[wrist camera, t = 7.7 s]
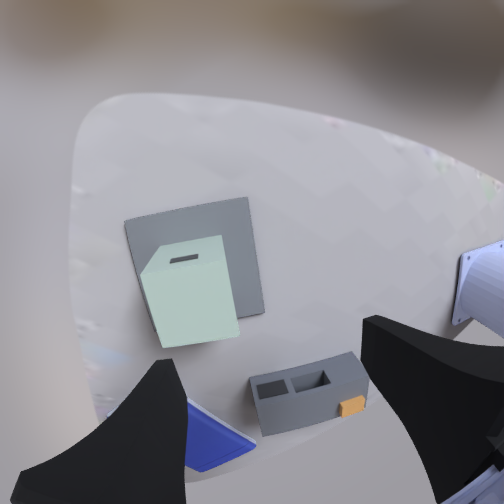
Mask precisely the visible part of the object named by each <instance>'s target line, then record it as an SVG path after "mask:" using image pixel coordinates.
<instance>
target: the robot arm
mask: <svg viewBox="0 0 504 504" xmlns="http://www.w3.org/2000/svg"><path fill="white" fill-rule="evenodd" d="M471 317H472V318H474V319H475V320H477V321H478V322H480V323H481V324H483V325H485V326H486V327H488V328H489V329H491V330H492V331H494V332H495V333H496V334H498V335H500V336H501V337H502V338H504V240H501V241H499V242H496V243H493V244H490V245H487V246H484V247H481V248H478V249H476V250H473V251H470V252H466V253H464V254H462V256H461V261H460V271H459V280H458V287H457V294H456V301H455V307H454V313H453V318H452V324H453V325H454V326H455V325H457V324H459V323H461V322H463V321H465V320H467V319H469V318H471ZM361 362H362V364H363V366H364V368H365V370H366V372H367V374H368V375H369V377H370V379H371V380H372V382H373V383H374V385H375V386H376V387H377V389H378V390H379V391H380V393H381V394H382V395H383V397H384V398H385V399H386V401H387V402H388V403H389V405H390V406H391V407H392V409H393V410H394V411H395V413H396V414H397V415H398V417H399V418H400V420H401V421H402V423H403V425H404V426H405V428H406V430H407V432H408V434H409V436H410V437H411V439H412V441H413V443H414V445H415V447H416V449H417V451H418V454H419V456H420V458H421V460H422V463H423V465H424V467H425V470H426V472H427V475H428V478H429V480H430V483H431V486H432V489H433V493H434V496H435V500H436V503H437V504H504V347H503V346H502V347H501V346H485V345H475V344H469V343H463V342H458V341H454V340H450V339H446V338H442V337H439V336H435V335H432V334H429V333H426V332H423V331H420V330H418V329H415V328H412V327H409V326H407V325H404V324H401V323H399V322H396V321H393V320H391V319H388V318H385V317H382V316H379V315H374V316H371V317H368V318H364V319H363V328H362V346H361ZM187 430H188V402H187V396H186V394H185V391H184V389H183V386H182V384H181V381H180V378H179V376H178V373H177V371H176V368H175V365H174V363H173V360H172V359H164V360H156V361H155V363H154V364H153V365H152V366H151V368H150V369H149V370H148V371H147V373H146V374H145V375H144V377H143V378H142V379H141V381H140V382H139V383H138V384H137V385H136V387H135V388H134V389H133V390H132V392H131V393H130V394H129V395H128V397H127V398H126V399H125V400H124V401H123V402H122V403H121V404H120V405H119V407H118V408H117V409H116V410H115V411H114V412H113V413H112V414H111V415H110V416H109V417H108V418H107V419H106V420H105V421H104V422H103V423H102V424H101V425H99V426H98V427H97V429H95V430H94V431H93V432H91V433H90V434H89V435H88V436H86V437H85V438H83V439H82V440H81V441H79V442H78V443H76V444H75V445H74V446H72V447H71V448H69V449H68V450H66V451H64V452H63V453H61V454H59V455H57V456H56V457H54V458H52V459H50V460H48V461H46V462H44V463H41V464H39V465H37V466H34V467H32V468H29V469H27V470H24V471H21V472H20V475H19V477H18V480H17V482H16V485H15V488H14V490H13V493H12V496H11V499H10V501H11V503H12V504H186V496H185V482H184V467H185V454H186V442H187Z"/></svg>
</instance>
